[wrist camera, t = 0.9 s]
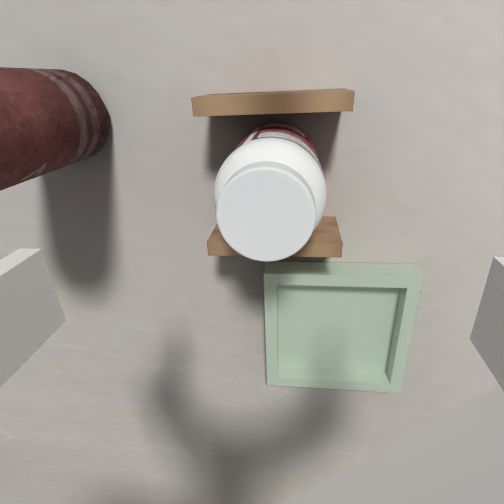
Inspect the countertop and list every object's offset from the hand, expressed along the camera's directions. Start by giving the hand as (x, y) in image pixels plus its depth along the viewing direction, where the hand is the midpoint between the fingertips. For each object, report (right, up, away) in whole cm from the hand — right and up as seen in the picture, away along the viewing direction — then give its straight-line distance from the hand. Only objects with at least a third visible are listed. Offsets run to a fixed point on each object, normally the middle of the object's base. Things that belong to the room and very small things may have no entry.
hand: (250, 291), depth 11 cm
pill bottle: (+2, +8, +16) cm, 18 cm away
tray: (+7, -5, +21) cm, 23 cm away
